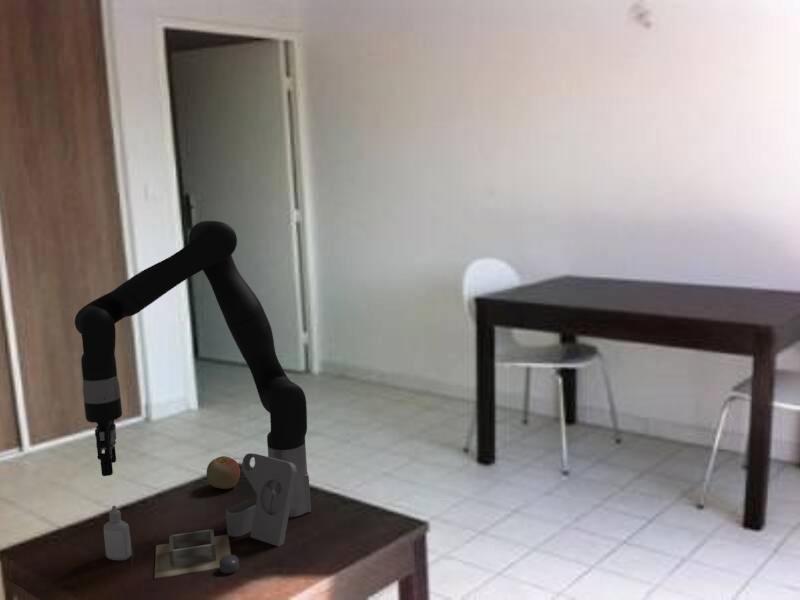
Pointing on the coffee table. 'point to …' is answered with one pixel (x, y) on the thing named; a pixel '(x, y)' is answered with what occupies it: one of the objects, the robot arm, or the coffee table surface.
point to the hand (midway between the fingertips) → (109, 468)
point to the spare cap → (229, 564)
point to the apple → (223, 472)
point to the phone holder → (264, 501)
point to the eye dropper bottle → (117, 537)
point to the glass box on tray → (190, 553)
